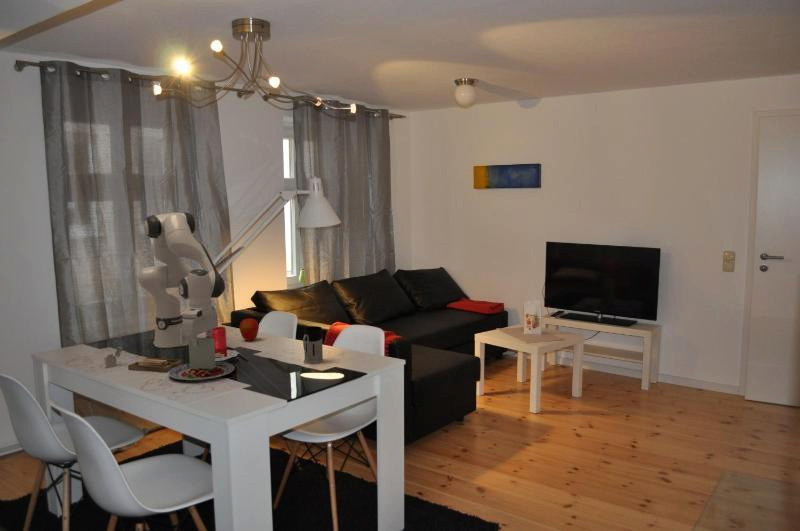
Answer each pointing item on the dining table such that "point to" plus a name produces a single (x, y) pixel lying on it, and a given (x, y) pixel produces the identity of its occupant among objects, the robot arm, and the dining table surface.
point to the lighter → (112, 358)
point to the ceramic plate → (200, 372)
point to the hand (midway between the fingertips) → (202, 343)
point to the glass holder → (313, 345)
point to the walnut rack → (171, 364)
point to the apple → (249, 329)
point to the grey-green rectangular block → (202, 353)
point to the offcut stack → (153, 362)
